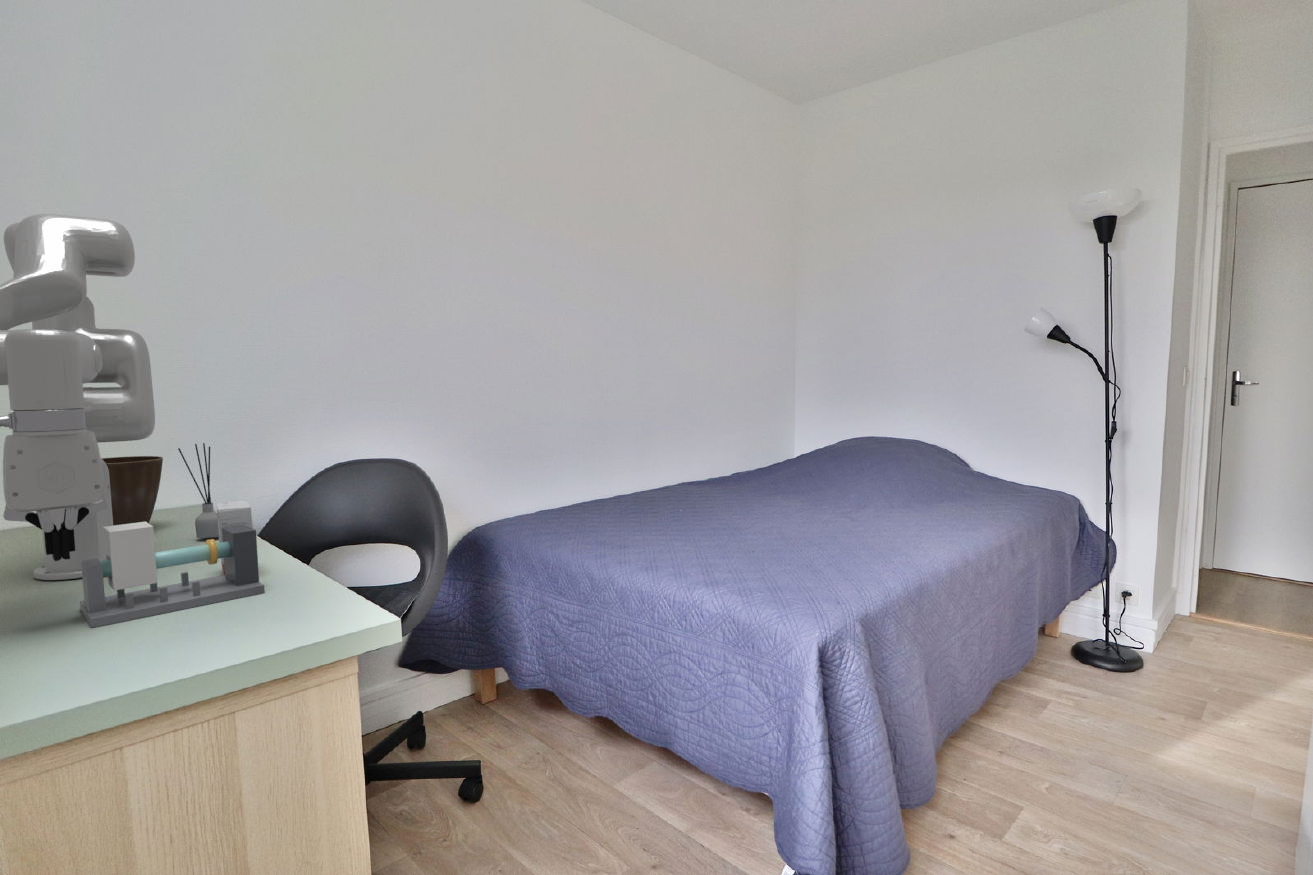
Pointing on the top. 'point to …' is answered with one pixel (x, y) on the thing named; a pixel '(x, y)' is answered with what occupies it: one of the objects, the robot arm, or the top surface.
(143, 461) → the plant pot
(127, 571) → the sleeve
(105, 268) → the robot arm
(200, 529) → the reed diffuser
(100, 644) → the top surface
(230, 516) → the ink box
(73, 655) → the top surface
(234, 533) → the motor shaft test rig
